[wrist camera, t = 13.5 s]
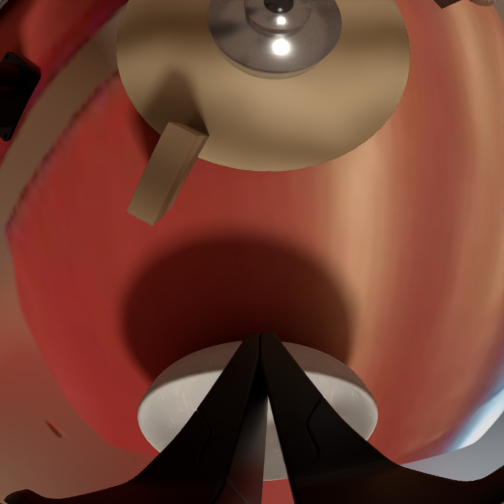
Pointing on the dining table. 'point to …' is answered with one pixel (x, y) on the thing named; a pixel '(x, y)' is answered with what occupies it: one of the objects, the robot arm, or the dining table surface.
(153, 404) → the serving bowl
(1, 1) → the ceramic plate
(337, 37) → the cover
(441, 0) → the dial gauge
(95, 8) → the dining table surface
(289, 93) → the tan piece
